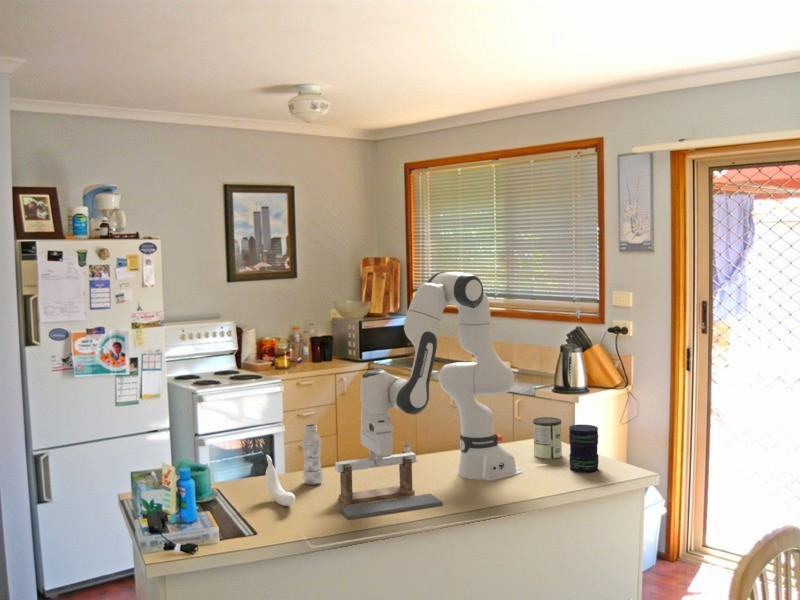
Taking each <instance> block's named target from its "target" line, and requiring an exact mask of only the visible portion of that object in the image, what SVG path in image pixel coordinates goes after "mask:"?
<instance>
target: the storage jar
mask: <svg viewBox="0 0 800 600" xmlns="http://www.w3.org/2000/svg"><path fill="white" fill-rule="evenodd" d="M568 429H569V434H568V439H569V441H568V442H569V449H570V450H569V455H568V456H569V459H568V460H569V470H570V471H571V472H574V473H580V474H592V473H596V472H598V471H599V454H598V444H599V427H598V426H596V425H592V424H573V425H570V426H569V428H568Z"/></svg>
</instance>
